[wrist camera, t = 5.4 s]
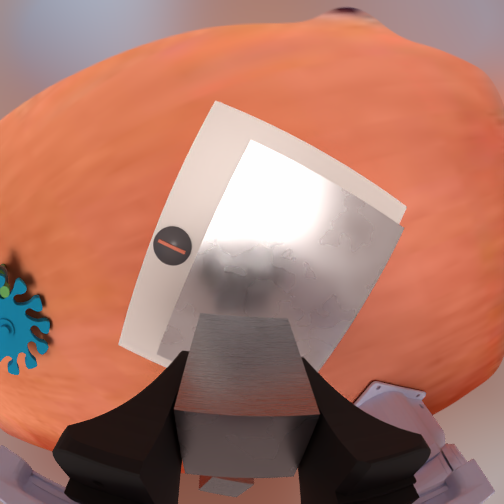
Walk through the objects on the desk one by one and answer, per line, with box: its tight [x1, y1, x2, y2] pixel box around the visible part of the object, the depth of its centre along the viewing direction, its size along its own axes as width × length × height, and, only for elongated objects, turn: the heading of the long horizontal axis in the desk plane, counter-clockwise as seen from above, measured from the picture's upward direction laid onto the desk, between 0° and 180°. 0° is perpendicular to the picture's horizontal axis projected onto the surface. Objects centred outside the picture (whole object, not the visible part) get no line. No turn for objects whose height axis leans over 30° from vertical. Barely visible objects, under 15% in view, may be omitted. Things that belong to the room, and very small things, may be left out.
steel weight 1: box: [174, 313, 320, 478], centre depth 10 cm, size 4×4×6 cm
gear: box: [0, 264, 50, 375], centre depth 16 cm, size 11×6×10 cm
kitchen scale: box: [119, 101, 407, 372], centre depth 17 cm, size 14×18×3 cm
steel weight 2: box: [199, 475, 254, 497], centre depth 21 cm, size 4×4×6 cm
